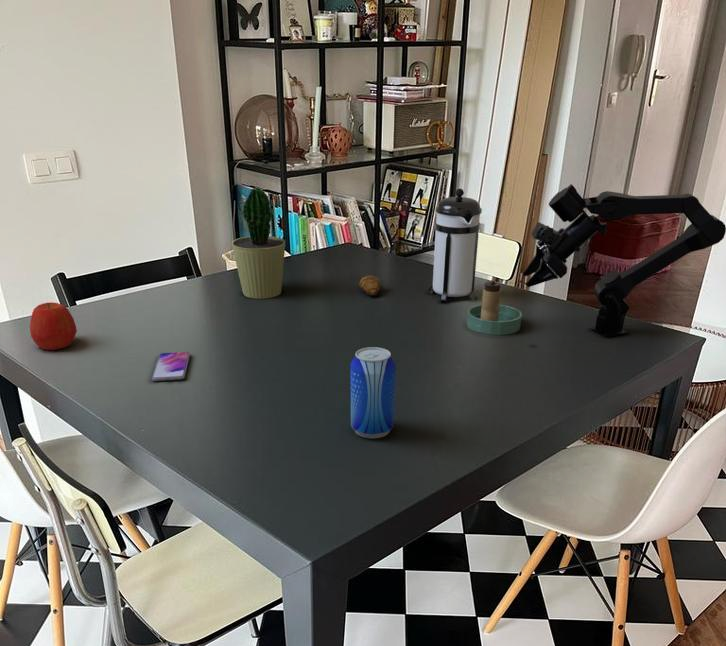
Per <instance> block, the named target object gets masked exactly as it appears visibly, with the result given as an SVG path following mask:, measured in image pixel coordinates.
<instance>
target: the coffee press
mask: <svg viewBox="0 0 726 646" xmlns="http://www.w3.org/2000/svg"><path fill="white" fill-rule="evenodd" d="M464 194H465V192H464V190H463V188H457V189H456V190H455V195H456V196H449V197H444V198H442V199H441V200H440V201H439V202H438V204H437V206H436V207H435V209H434V211H435V213H436V215H435V216H436V218H435V221H434V230H435V234H434V235H435V236H434V253H433V254H434V255H433V270H432V271H433V273H432V284H431V286H430V287H429V289H428V293H429V294H430V295H431V294H432V295H433V294H434V293H436V294H438V295H439V296H441V298H440V303H443V304H447V302H448V299H449V298H450V297H451V298H458V297H459V298H460V297H465V296H466V297H468V298H470V300H471V301H475V300H477V299H478V295H477V293H476V291H475V281H476V271H477V269H476V268H477V257H478V245H479V231H480V229H481V222H480V220H481V214H482V213H483V209H482V207H481V204H480V203H479V202H478V200H476V199H474V198H471V197H466V196H464ZM432 290H433V291H432ZM472 294H473V295H474V297H473V296H472Z"/></svg>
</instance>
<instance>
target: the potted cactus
mask: <svg viewBox="0 0 726 646" xmlns="http://www.w3.org/2000/svg"><path fill="white" fill-rule="evenodd" d="M249 187H250V188H249V189H250V191H249V190H247V193H248V194H247V195H246V199H245V200H243V201H242V203H243V206H241V212H242V219H243V220H244V223H246V225H247V226H245V227H246V228H245V230H246V231H247V230H248V232H247V234H249V236H244V237H243V236H242V237H239V238H236V239H234V240H232V241H231V247H232V251H233V256H234V260H235V264H236V270H237V273H238V278H239V282H240V286H241V291H242V294H243V296H244V297H247V298H249V299H261V300H262V299H263V300H264V299H272V298H276V297H278V296H280V295H281V293H282V286H283V285H282V284H283V275H284V265H285V263H284V262H285V251H286V240H285V239H283V238H281V237H277V236H273V235H272V236H271V231H273V229H271V227H272V225H273V223H274V222H275V221H274V220H275V219H274V217H273V211H272V209H271V205H273V204H274V203H272V202H271V198H270V196H272V194H271V195H270V194H267V192H266V191H265V190H263V189H262V188H261V187H256V188H255V187H254V186H252V188H251V186H249ZM269 198H270V199H269Z"/></svg>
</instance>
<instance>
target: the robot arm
mask: <svg viewBox="0 0 726 646" xmlns="http://www.w3.org/2000/svg"><path fill="white" fill-rule="evenodd" d="M548 206H549V208H551V210H552V211H553V212H554V213H555V214H556V215H557V217H558V218H559V219H560V220H561V222H563V223H566V222H568V223H570V224H569V225H568V226H567V227H565V228H564V227H562V228H559V230H556V229H554V228H553V227H550V226H549V225H546V224H543V223H542V222H540V221H537V223H536V224H535V226H534V229H532V231H531V235H532V236H531V237H532V238H533V239H534V240H537V241H536V243H537V244H535V254H534V256H533V258H532V259H531V260H530V262H529V263H528V265H527V266H526V267H525V269H524V270H523V272H522V275H523V276H524V277H528V276H530V275H531V277H530V278H529V279H528V280H527V281H526V283H525V286H526V287H527V288H531V287H534V286H536V285H539V284H542V283H543V284H544V283H546V282H549V281H553V280H555V279H556V280H557V279H562V278H563V277H565V275H567V273H568V266H567V264H566V263H567V262H568V260H567V259H568V258H569V257H571V256H572V254H574V253H575V252H577V253H578V252H580V251H581V247H582V246H583V245H584V244H586V242H587V241H588V240H590V239H591V238H592V237H593V236H594V235H595V234H596V233H599V234H600V235H601V236H602V237H606V235H607V229H608V228H607V227H608V224H607V222H612V221H617V220H622V219H626V218H628V217H631V216H635V215H667V214H668V215H669V214H670V215H671V214H672V215H674V214H684V216H685V217H686V219H687V220H688V221H689V223H690V225H688V226H686V229H685V230H683V232H682V233H681V235H680V236H678V237H677V238H676V239H674V240H672V241H671V242H669V243H667V244H666V245H664V246H663V247H662V248H659V249H658V250H656V251H655V252H653V253H651V254H650V255H649V256H647V257H645V258H644V259H642V260H641V261H638V262H637V263H636V264H633V265H632V266H631V267H629V268H628V269H625V270H623V271H618V270H617V269H616V268H615V267H614V268H613V269H611V270H610V271H609V272H608V273H606V274H604V275H600V277H599V278H600V279H599V280H598V281H597V282H596V283H595V286H594V294H595V296H596V298H597V300H598V302H599V303H600V305H602V306H601V308H599V309H598V310H599V311H598V314H597V316H596V320H595V327H591V331H593V332H595V333H597V334H599V335H601V336H604V337H605V338H612V337H617V336H623V335H627V331H625V330H624V324H625V319H626V315H627V313H628V311H629V310H630V305H629V304H628V303H627V301H626V300H625V299H626V298H627V297H628V296H629V294H631V292H632V291H633V289H634V288H635V287H636V286H638V285H640V284H641V283H643V282H644V281H646V280H647V279H649V278H651V277H653V276H654V275H656V274H658V273H659V272H661V271H662V270H664V269H666V268H667V267H669V266H670V265H672V264H674V263H675V262H677V261H679V260H680V259H682V258H683V257H686V256H687V255H688V254H690V253H694V252H697V251H703V250H705V249H708V248H710V247H713V246H714V245H715V246H716V245H717V244H719V243H720V242H721V241H723V240H724V239H725V235H726V224H725V222H723V221H722V220H720V219H719V218H717V217H716V216H715V215H713V214H711V213H710V212H709V211H708V210H707V209H706V208H705V207H704V206H703V204H701V202H700V200H699V199H698V197H697V196H694V195H693V194H691V193H683V194H665V195H659V194H657V195H630V194H626V193H622V192H616V191H609V190H606V191H602V192H600V193H599V194H598V195H597V196H592V197H586V198H583V197H582V195H580V193H579V192H578V190H577V188H576V187H575V186H574V185H573V184H571V183H570V184H569V185H568V186H567V187H565V188H563V189H562V190H560V191H558V192H557V193H555V195H554V196H553V197H552V198H551V199H550V200H549V202H548ZM584 209H586V210H588V212H589V213H590V214H591V215H589V214H588V213H587V212H586V210H584ZM597 216H599V217H600V219H601V220H603V221H605V222H601V221H600V219H598V217H597Z"/></svg>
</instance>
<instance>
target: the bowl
mask: <svg viewBox="0 0 726 646" xmlns="http://www.w3.org/2000/svg"><path fill="white" fill-rule="evenodd" d="M481 307H482V304H478V305H474V306H471V307H470V308H468V310H467V312H466V313H467V314H466V315H467V316H466V326H467V328H468V329H470V330H471V331H473V332H476V333H479V334H484V335H490V336H503V335H512V334H515V333H518V331H520V330H521V326H522V319H523V318H522V317H523V312H522V311H521V310H519V309H517V308H515V307H512V306H509V305H504V304H500V306H499V315H498V321H488V320H482V319H480V318H481Z"/></svg>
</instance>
